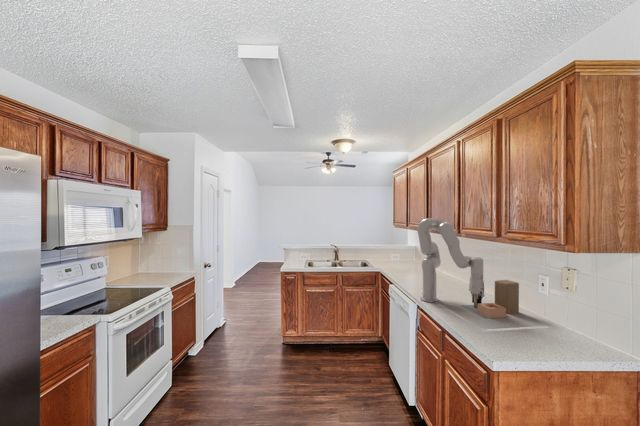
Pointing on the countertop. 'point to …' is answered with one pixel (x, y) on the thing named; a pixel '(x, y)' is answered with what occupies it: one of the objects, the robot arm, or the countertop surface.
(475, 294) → the birch dowel
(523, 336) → the countertop surface
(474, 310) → the charcoal mat
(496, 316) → the terracotta box
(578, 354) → the countertop surface
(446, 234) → the robot arm
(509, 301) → the wooden block
